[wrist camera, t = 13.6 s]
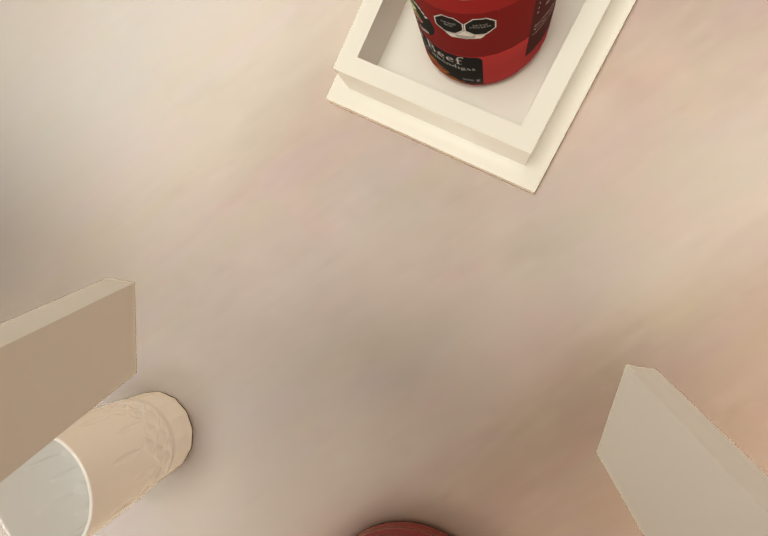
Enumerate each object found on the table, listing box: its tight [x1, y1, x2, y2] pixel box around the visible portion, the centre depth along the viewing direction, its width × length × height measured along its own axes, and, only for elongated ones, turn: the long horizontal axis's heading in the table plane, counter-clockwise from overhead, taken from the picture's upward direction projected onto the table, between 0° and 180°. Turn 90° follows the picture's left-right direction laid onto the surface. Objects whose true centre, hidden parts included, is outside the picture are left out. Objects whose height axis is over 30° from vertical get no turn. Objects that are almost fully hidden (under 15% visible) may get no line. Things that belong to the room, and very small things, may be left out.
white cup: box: [0, 392, 192, 536], centre depth 31 cm, size 8×8×10 cm
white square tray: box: [326, 0, 636, 194], centre depth 27 cm, size 16×16×4 cm
